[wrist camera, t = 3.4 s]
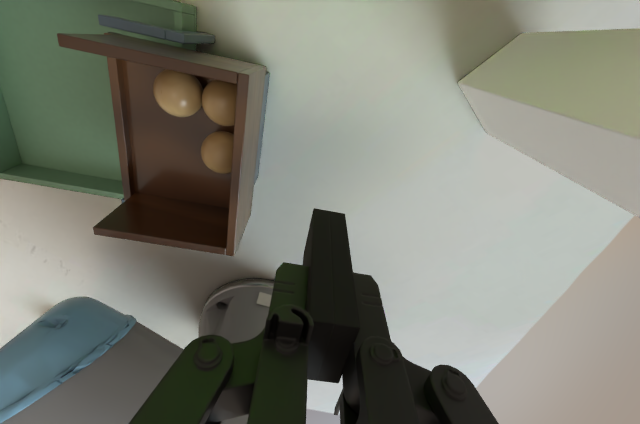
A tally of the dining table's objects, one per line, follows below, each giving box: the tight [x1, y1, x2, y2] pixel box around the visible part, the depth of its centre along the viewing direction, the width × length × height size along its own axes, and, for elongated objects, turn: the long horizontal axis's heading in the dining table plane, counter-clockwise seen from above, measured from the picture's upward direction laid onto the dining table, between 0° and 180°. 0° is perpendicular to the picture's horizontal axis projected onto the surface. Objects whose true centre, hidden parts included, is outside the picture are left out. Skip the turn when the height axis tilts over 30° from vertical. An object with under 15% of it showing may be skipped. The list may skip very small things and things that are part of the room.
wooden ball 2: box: [201, 80, 237, 126], centre depth 20 cm, size 3×3×3 cm
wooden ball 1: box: [153, 69, 203, 117], centre depth 20 cm, size 3×3×3 cm
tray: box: [0, 0, 196, 199], centre depth 26 cm, size 17×17×3 cm
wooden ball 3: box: [201, 131, 234, 174], centre depth 22 cm, size 3×3×3 cm
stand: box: [98, 14, 270, 203], centre depth 26 cm, size 14×10×7 cm
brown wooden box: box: [57, 32, 266, 256], centre depth 21 cm, size 12×10×6 cm
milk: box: [458, 29, 640, 218], centre depth 18 cm, size 6×6×22 cm
